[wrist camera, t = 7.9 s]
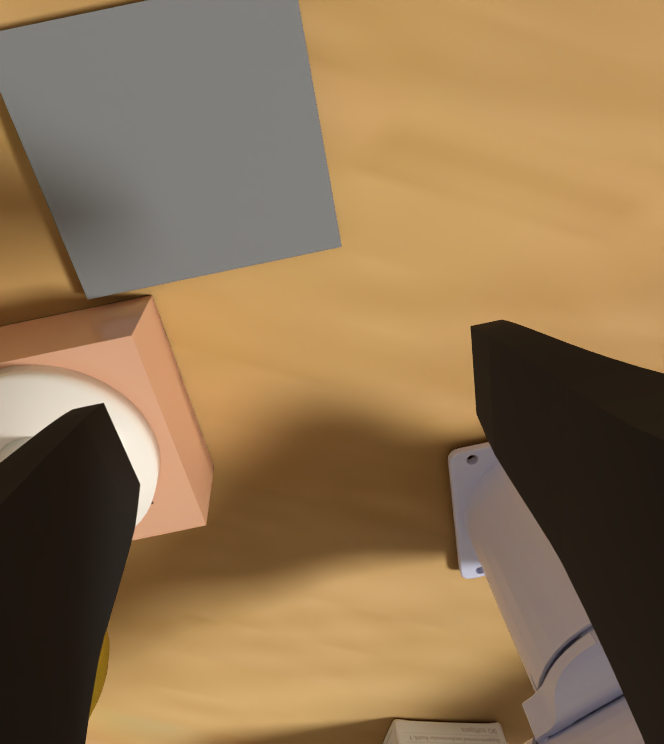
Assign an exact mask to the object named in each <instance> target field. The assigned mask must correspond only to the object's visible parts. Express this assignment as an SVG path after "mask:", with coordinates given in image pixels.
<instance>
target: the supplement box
mask: <svg viewBox="0 0 664 744" xmlns="http://www.w3.org/2000/svg"><path fill="white" fill-rule="evenodd" d="M383 744H507V742H506V739H505V735H504V732H503V730H502V727H501V724H500V723H498V722H495V723H448V722H425V721H408V720H403V719H395V720H393V722H392V724H391V726H390V728H389V730H388V733H387V735H386V737H385V739H384V742H383Z"/></svg>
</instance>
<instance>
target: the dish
mask: <svg viewBox="0 0 664 744" xmlns="http://www.w3.org/2000/svg"><path fill="white" fill-rule="evenodd" d="M30 364H34V365H50V366H57V367H63V368H67V369H71V370H75V371H79V372H81V373H84V374H87V375H90V376H92V377H94V378H96V379H98V380H100V381H103V382H105V383H107V384H108V385H110V386H111V387H113V388H114V389H116V390H118V391H119V392H120V393H122V394H123V395H124V396H125V397H127V398H128V399H129V400H130V401H131V402H132V403H133V404H134V405H135V406H136V407H137V408H138V409H139V410H140V411H141V413H142V414H143V415H144V417H145V418H146V419H147V421H148V422H149V424H150V426H151V428H152V429H153V431H154V434H155V436H156V439H157V441H158V445H159V450H160V460H161V465H160V474H159V478H158V482H157V485H156V489H155V493H154V496H153V500H152V503H151V505H150V507H149V509H148V511H147V513H146V514H145V516H144V517H143V519H142V520H141V521H140V522H139V523H138V524H137V525H136V526H135V530H134V534H133V538H132V541H133V540H138V539H142V538H147V537H152V536H157V535H162V534H166V533H171V532H176V531H181V530H186V529H190V528H195V527H200V526H205V525H206V523H207V516H208V508H209V501H210V493H211V486H212V478H213V471H214V466H213V463H212V460H211V458H210V455H209V452H208V449H207V446H206V444H205V441H204V438H203V435H202V433H201V430H200V427H199V424H198V421H197V419H196V416H195V413H194V410H193V408H192V405H191V402H190V399H189V396H188V394H187V391H186V388H185V385H184V383H183V380H182V377H181V374H180V371H179V369H178V366H177V363H176V360H175V358H174V355H173V352H172V349H171V346H170V344H169V341H168V338H167V335H166V332H165V330H164V327H163V324H162V321H161V319H160V316H159V313H158V310H157V307H156V305H155V302H154V299H153V296H152V295H150V296H145V297H140V298H135V299H131V300H126V301H121V302H116V303H111V304H107V305H102V306H97V307H92V308H87V309H83V310H78V311H73V312H68V313H63V314H59V315H54V316H49V317H44V318H40V319H35V320H30V321H25V322H20V323H16V324H11V325H6V326H1V327H0V369H1V368H5V367H11V366H16V365H30Z"/></svg>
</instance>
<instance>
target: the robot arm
mask: <svg viewBox="0 0 664 744" xmlns="http://www.w3.org/2000/svg"><path fill="white" fill-rule="evenodd" d="M471 339H472V354H473V368H474V383H475V398H476V413H477V416H478V419H479V421H480V423H481V426H482V428H483V430H484V433H485V435H486V437H487V439H488V442H486V443H482V444H477V445H472V446H467V447H462V448H458V449H455V450H453V451H452V452H451V453H450V454H449V456H448V467H449V477H450V487H451V496H452V506H453V516H454V526H455V536H456V545H457V555H458V565H459V570H460V573H461V576H462V577H464V578H467V579H471V578H476V577H481V576H486V578H487V581H488V583H489V585H490V588H491V590H492V593H493V595H494V597H495V600H496V602H497V604H498V607H499V609H500V611H501V614H502V616H503V618H504V621H505V623H506V625H507V628H508V630H509V632H510V635H511V637H512V639H513V642H514V644H515V647H516V649H517V651H518V654H519V656H520V658H521V661H522V663H523V665H524V668H525V670H526V672H527V675H528V677H529V679H530V682H531V684H532V686H533V689H534V691H535V694H534V695H532V696H531V697H530V698H528V699H527V700H525V701H524V702H523V703H522V707H523V709H524V712H525V714H526V717H527V719H528V722H529V724H530V727H531V729H532V732H533V734H534V738H531V739H529V740H527V741H526V742H525V743H524V744H664V373H660V372H656V371H652V370H649V369H645V368H641V367H638V366H634V365H631V364H628V363H625V362H622V361H618V360H615V359H612V358H609V357H605V356H603V355H600V354H597V353H594V352H591V351H588V350H585V349H582V348H580V347H577V346H574V345H571V344H569V343H566V342H563V341H561V340H558V339H556V338H553V337H550V336H548V335H545V334H543V333H540V332H537V331H535V330H532V329H529V328H527V327H524V326H521V325H519V324H516V323H513V322H509V321H505V320H498V321H493V322H488V323H484V324H479V325H474V326H471ZM471 455H475V456H474V457H473V458H471V459H467V458H468V457H469V456H471ZM139 493H140V482H139V480H138V478H137V475H136V473H135V471H134V469H133V467H132V464H131V462H130V460H129V458H128V455H127V453H126V451H125V449H124V447H123V444H122V442H121V440H120V438H119V435H118V433H117V431H116V429H115V427H114V424H113V422H112V420H111V418H110V415H109V413H108V411H107V409H106V406H105V404H104V403H100V404H95V405H90V406H85V407H80V408H76V409H72V410H70V411H69V412H67V413H65V414H64V415H62V416H61V417H59V418H58V419H56V420H55V421H53V422H52V423H51V424H49V425H48V426H47V427H45V428H44V429H43V430H41V431H40V432H39V433H37V434H36V435H35V436H33V437H32V438H31V439H30V440H28V441H27V442H26V443H24V444H23V445H22V446H21V447H19V448H18V449H17V450H16V451H14V452H13V453H12V454H10V455H9V456H8V457H7V458H5V459H4V460H3V461H2V462H0V744H85V741H86V734H87V727H88V720H89V714H90V708H91V702H92V696H93V690H94V685H95V679H96V673H97V667H98V662H99V657H100V653H101V649H102V645H103V640H104V636H105V633H106V629H107V626H108V622H109V619H110V615H111V612H112V608H113V605H114V602H115V598H116V595H117V591H118V588H119V584H120V581H121V577H122V574H123V570H124V567H125V563H126V560H127V556H128V553H129V549H130V545H131V542H132V538H133V534H134V530H135V525H136V518H137V511H138V502H139ZM480 566H481V567H480ZM478 567H479V568H478Z"/></svg>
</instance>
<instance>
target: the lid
mask: <svg viewBox="0 0 664 744" xmlns="http://www.w3.org/2000/svg"><path fill="white" fill-rule="evenodd" d="M100 403H104V404H105V406H106V409H107V411H108V413H109V415H110V418H111V420H112V422H113V424H114V427H115V429H116V431H117V433H118V435H119V438H120V440H121V442H122V444H123V447H124V449H125V451H126V453H127V455H128V458H129V460H130V462H131V464H132V467H133V469H134V471H135V473H136V475H137V478H138V480H139V482H140V493H139V502H138V511H137V518H136V525H137V524H138V523H139V522H140V521H141V520H142V519H143V517H144V516H145V514H146V513H147V511H148V509H149V507H150V505H151V503H152V500H153V496H154V493H155V489H156V485H157V482H158V478H159V474H160V465H161V460H160V450H159V445H158V441H157V439H156V436H155V434H154V431H153V429H152V428H151V426H150V424H149V422H148V421H147V419H146V418H145V417H144V415H143V414H142V413H141V411H140V410H139V409H138V408H137V407H136V406H135V405H134V404H133V403H132V402H131V401H130V400H129V399H128V398H127V397H125V396H124V395H123V394H122V393H120V392H119V391H118V390H116V389H114V388H113V387H111V386H110V385H108V384H107V383H105V382H103V381H100V380H98V379H96V378H94V377H92V376H90V375H87V374H84V373H81V372H79V371H75V370H71V369H67V368H63V367H57V366H50V365H34V364H30V365H16V366H11V367H5V368H1V369H0V462H2V461H3V460H4V459H5V458H7V457H8V456H9V455H10V454H12V453H13V452H14V451H16V450H17V449H18V448H19V447H21V446H22V445H23V444H24V443H26V442H27V441H28V440H30V439H31V438H32V437H33V436H35V435H36V434H37V433H39V432H40V431H41V430H43V429H44V428H45V427H47V426H48V425H49V424H51V423H52V422H53V421H55V420H56V419H58V418H59V417H61V416H62V415H64V414H65V413H67V412H69V411H70V410H72V409H76V408H80V407H85V406H90V405H95V404H100ZM136 525H135V526H136Z"/></svg>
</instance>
